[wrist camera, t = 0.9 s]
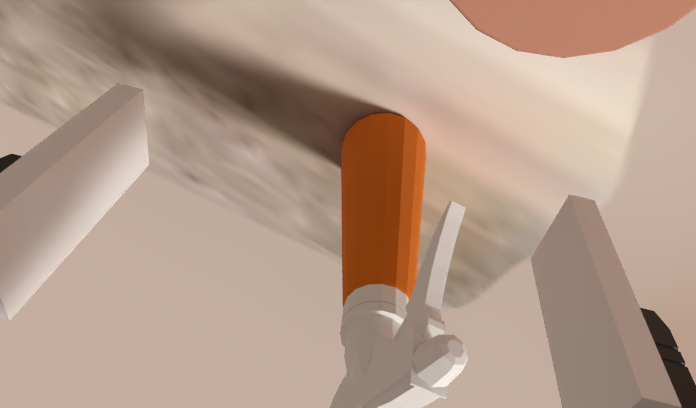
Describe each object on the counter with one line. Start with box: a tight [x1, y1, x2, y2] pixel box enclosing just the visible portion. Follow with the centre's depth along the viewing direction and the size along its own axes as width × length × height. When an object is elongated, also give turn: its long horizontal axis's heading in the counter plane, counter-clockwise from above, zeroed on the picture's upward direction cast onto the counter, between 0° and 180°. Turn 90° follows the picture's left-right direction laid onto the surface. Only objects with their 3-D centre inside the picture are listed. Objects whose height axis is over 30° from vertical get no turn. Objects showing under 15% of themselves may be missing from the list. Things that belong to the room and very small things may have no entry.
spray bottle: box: [331, 113, 468, 408], centre depth 29 cm, size 7×11×26 cm, turn 153°
